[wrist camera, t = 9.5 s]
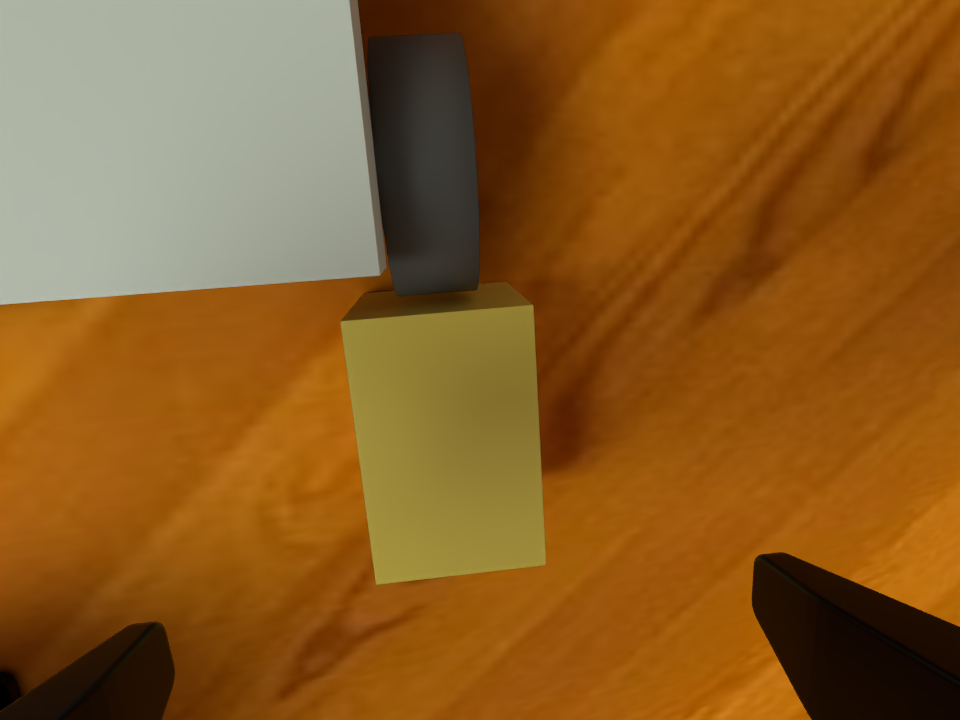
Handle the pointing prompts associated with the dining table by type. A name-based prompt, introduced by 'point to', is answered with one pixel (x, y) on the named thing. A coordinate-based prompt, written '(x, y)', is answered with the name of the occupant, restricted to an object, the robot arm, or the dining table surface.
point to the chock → (447, 431)
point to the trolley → (229, 149)
